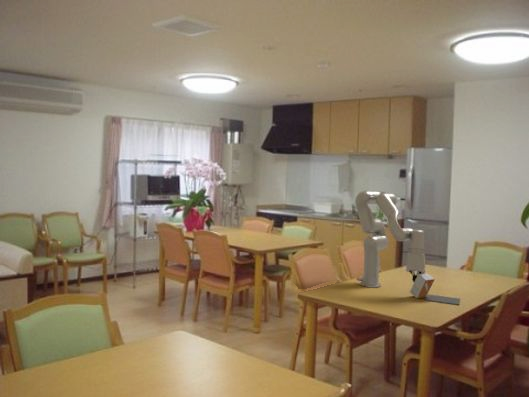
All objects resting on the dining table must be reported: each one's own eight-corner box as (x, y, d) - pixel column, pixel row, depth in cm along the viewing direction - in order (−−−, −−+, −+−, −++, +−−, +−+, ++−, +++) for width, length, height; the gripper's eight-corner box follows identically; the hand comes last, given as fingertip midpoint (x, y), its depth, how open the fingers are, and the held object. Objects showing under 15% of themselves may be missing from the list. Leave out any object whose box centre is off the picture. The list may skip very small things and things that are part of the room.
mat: (424, 300, 278) (425, 299, 278) (427, 295, 291) (427, 294, 291) (459, 305, 271) (459, 304, 271) (460, 299, 284) (460, 298, 284)
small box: (417, 298, 282) (426, 280, 277) (409, 292, 286) (417, 273, 281) (426, 297, 286) (435, 279, 281) (418, 290, 291) (427, 272, 286)
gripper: (402, 250, 285) (400, 281, 286) (429, 253, 279) (427, 285, 280) (404, 249, 292) (402, 279, 293) (430, 251, 286) (429, 282, 287)
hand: (415, 282), depth 287 cm, fingers closed
